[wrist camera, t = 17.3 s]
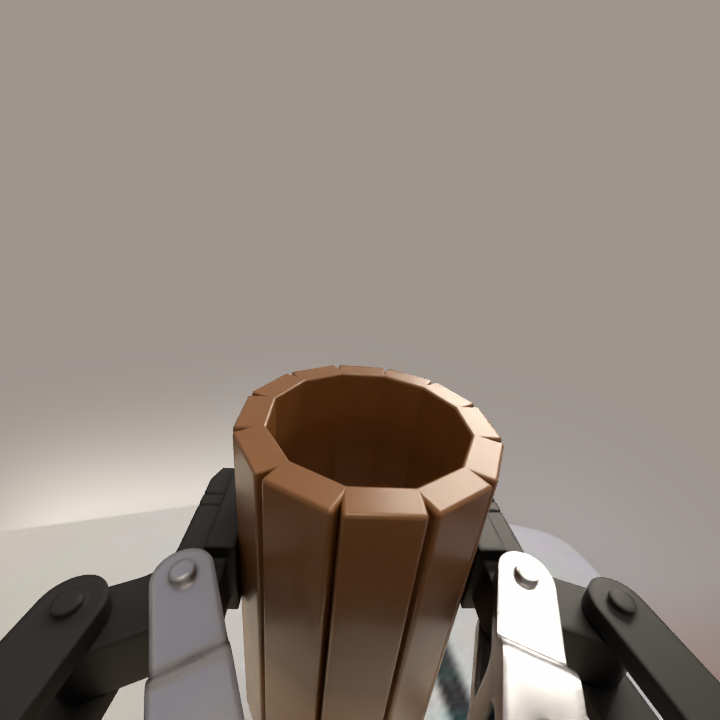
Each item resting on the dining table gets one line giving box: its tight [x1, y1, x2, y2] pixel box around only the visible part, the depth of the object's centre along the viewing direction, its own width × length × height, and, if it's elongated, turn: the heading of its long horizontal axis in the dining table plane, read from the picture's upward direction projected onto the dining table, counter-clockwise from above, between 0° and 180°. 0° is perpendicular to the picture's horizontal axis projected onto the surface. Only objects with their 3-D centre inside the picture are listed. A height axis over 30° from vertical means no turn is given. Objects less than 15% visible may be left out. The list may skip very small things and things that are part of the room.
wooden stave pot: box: [233, 365, 504, 720], centre depth 10 cm, size 6×6×10 cm
